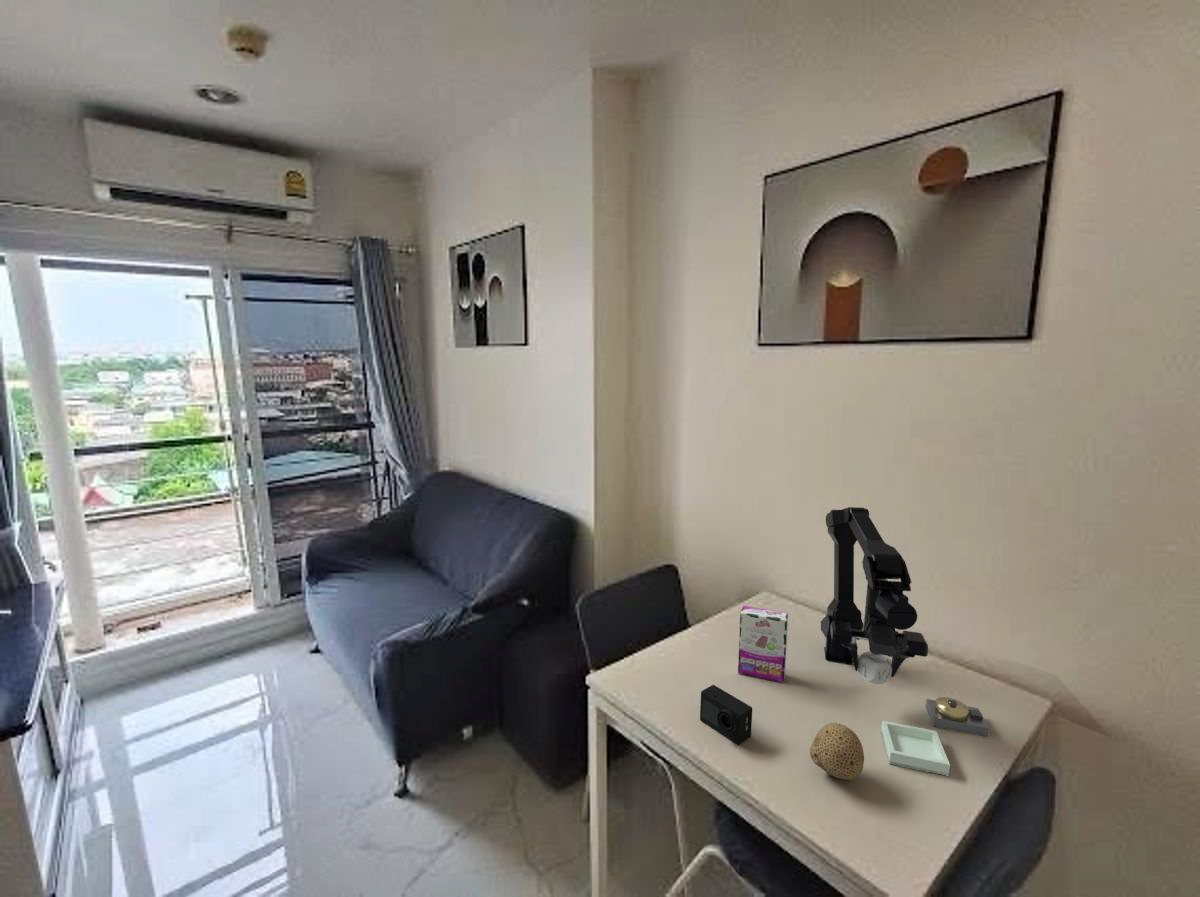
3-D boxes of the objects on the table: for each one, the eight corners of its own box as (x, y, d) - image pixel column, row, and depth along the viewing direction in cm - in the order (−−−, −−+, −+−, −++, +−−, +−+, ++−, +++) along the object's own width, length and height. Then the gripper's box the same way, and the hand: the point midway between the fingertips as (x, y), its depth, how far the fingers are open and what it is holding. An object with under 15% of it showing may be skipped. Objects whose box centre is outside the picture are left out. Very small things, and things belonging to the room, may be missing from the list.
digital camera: (695, 722, 117) (696, 692, 116) (711, 712, 120) (712, 683, 119) (734, 749, 109) (736, 717, 108) (750, 737, 112) (752, 706, 111)
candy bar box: (785, 673, 136) (789, 612, 133) (783, 684, 131) (788, 620, 128) (739, 663, 140) (742, 604, 137) (736, 673, 135) (740, 612, 133)
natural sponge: (874, 791, 98) (879, 742, 97) (830, 799, 96) (835, 749, 95) (842, 756, 107) (846, 710, 105) (801, 763, 105) (805, 716, 104)
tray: (889, 763, 105) (890, 752, 105) (881, 731, 114) (882, 720, 114) (948, 776, 102) (950, 764, 101) (934, 742, 111) (936, 731, 111)
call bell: (933, 726, 116) (935, 707, 115) (925, 706, 123) (927, 689, 122) (988, 736, 113) (990, 717, 112) (977, 716, 119) (979, 698, 119)
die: (856, 673, 122) (857, 653, 122) (873, 669, 124) (875, 649, 123) (873, 686, 118) (875, 665, 117) (891, 681, 119) (893, 661, 118)
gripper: (837, 616, 114) (831, 684, 116) (938, 631, 108) (930, 702, 110) (832, 595, 124) (827, 658, 126) (925, 607, 118) (917, 673, 121)
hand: (873, 673), depth 121 cm, fingers closed on die, 7 cm apart
